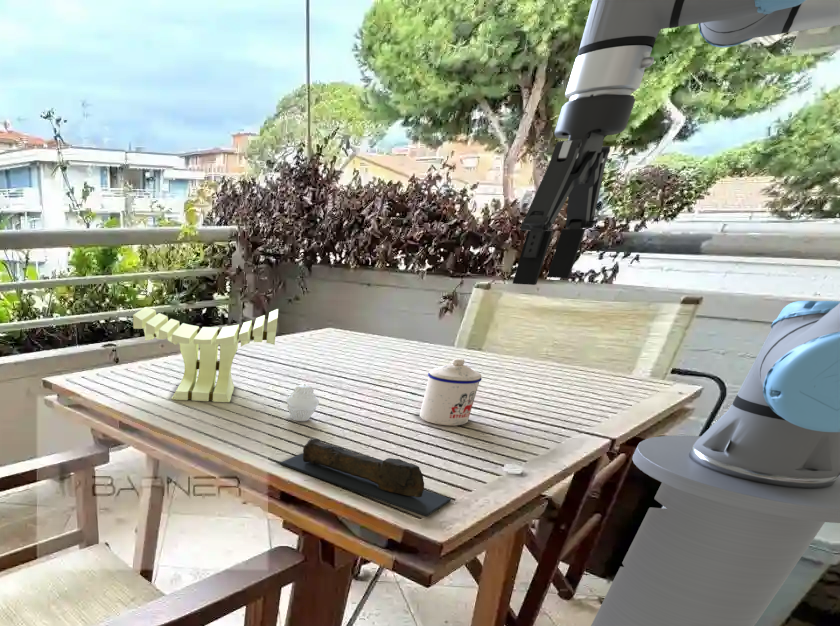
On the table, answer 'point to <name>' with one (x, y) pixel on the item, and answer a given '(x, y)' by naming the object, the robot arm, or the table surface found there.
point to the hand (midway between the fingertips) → (541, 281)
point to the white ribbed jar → (302, 403)
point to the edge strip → (369, 487)
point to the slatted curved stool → (205, 351)
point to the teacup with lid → (450, 394)
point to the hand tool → (368, 468)
